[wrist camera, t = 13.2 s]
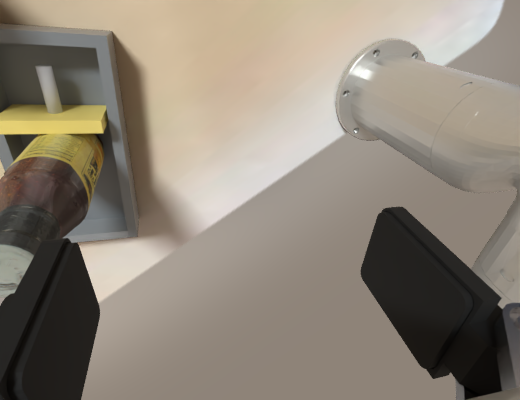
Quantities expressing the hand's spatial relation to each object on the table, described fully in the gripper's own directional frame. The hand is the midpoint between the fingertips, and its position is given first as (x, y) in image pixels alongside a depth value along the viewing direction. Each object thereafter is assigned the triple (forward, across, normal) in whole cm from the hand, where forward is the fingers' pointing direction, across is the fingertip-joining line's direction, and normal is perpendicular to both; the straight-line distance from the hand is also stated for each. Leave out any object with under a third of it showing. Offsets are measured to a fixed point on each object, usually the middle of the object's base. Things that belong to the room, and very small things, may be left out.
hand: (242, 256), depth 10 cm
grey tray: (+29, +13, +7) cm, 33 cm away
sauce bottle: (+28, +13, +7) cm, 32 cm away
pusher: (+28, +13, +1) cm, 31 cm away
